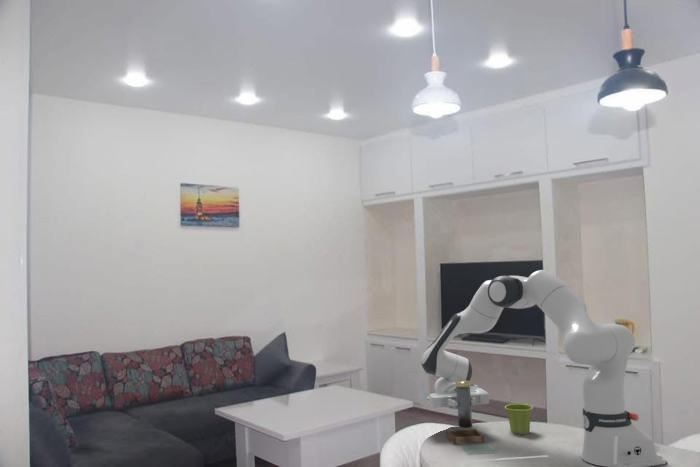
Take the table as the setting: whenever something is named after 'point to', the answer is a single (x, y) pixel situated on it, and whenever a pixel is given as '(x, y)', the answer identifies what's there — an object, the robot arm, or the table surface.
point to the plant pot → (519, 417)
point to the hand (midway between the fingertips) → (464, 403)
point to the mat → (478, 449)
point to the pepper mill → (464, 404)
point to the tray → (465, 436)
